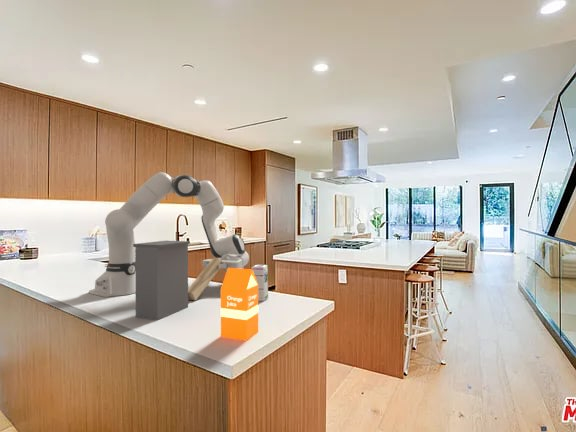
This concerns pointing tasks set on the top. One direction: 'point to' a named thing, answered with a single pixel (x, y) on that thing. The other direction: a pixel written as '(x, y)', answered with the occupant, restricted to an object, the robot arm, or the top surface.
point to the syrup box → (261, 281)
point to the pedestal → (161, 278)
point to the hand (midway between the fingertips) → (213, 266)
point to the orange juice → (239, 304)
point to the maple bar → (203, 279)
